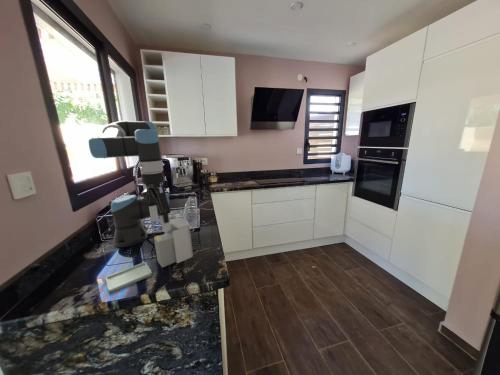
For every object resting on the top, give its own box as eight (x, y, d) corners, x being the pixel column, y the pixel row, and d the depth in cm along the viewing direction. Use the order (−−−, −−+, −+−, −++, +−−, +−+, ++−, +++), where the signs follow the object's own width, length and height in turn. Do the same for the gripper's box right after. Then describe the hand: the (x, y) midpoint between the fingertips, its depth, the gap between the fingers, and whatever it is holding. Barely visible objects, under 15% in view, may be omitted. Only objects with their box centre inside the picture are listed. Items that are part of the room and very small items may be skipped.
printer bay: (167, 252, 89) (163, 221, 85) (182, 247, 93) (178, 217, 90) (177, 263, 80) (172, 229, 77) (193, 256, 85) (189, 224, 82)
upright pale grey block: (157, 261, 82) (153, 236, 80) (180, 252, 89) (177, 229, 86) (162, 267, 78) (158, 241, 76) (186, 257, 84) (183, 233, 82)
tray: (105, 279, 72) (105, 277, 72) (145, 264, 81) (145, 261, 80) (109, 293, 65) (108, 290, 65) (152, 275, 74) (152, 272, 73)
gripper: (133, 170, 80) (141, 219, 85) (152, 177, 62) (161, 238, 67) (152, 168, 85) (159, 214, 89) (175, 174, 67) (182, 231, 71)
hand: (160, 225), depth 78 cm, fingers open, 13 cm apart
